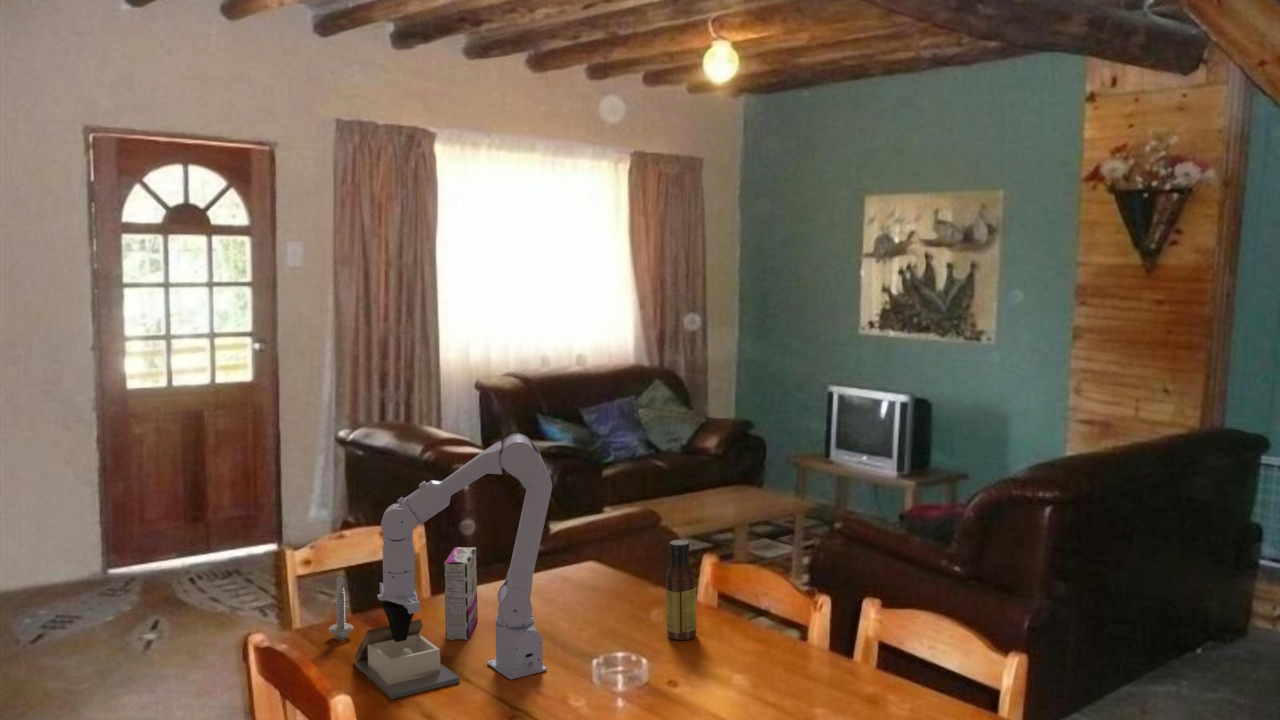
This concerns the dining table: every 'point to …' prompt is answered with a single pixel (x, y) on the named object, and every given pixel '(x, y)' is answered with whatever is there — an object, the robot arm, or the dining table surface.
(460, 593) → the candy bar box
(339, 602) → the screw
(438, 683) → the board
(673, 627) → the sauce bottle
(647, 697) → the dining table surface
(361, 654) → the lid
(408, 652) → the ball
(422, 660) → the open grey box
